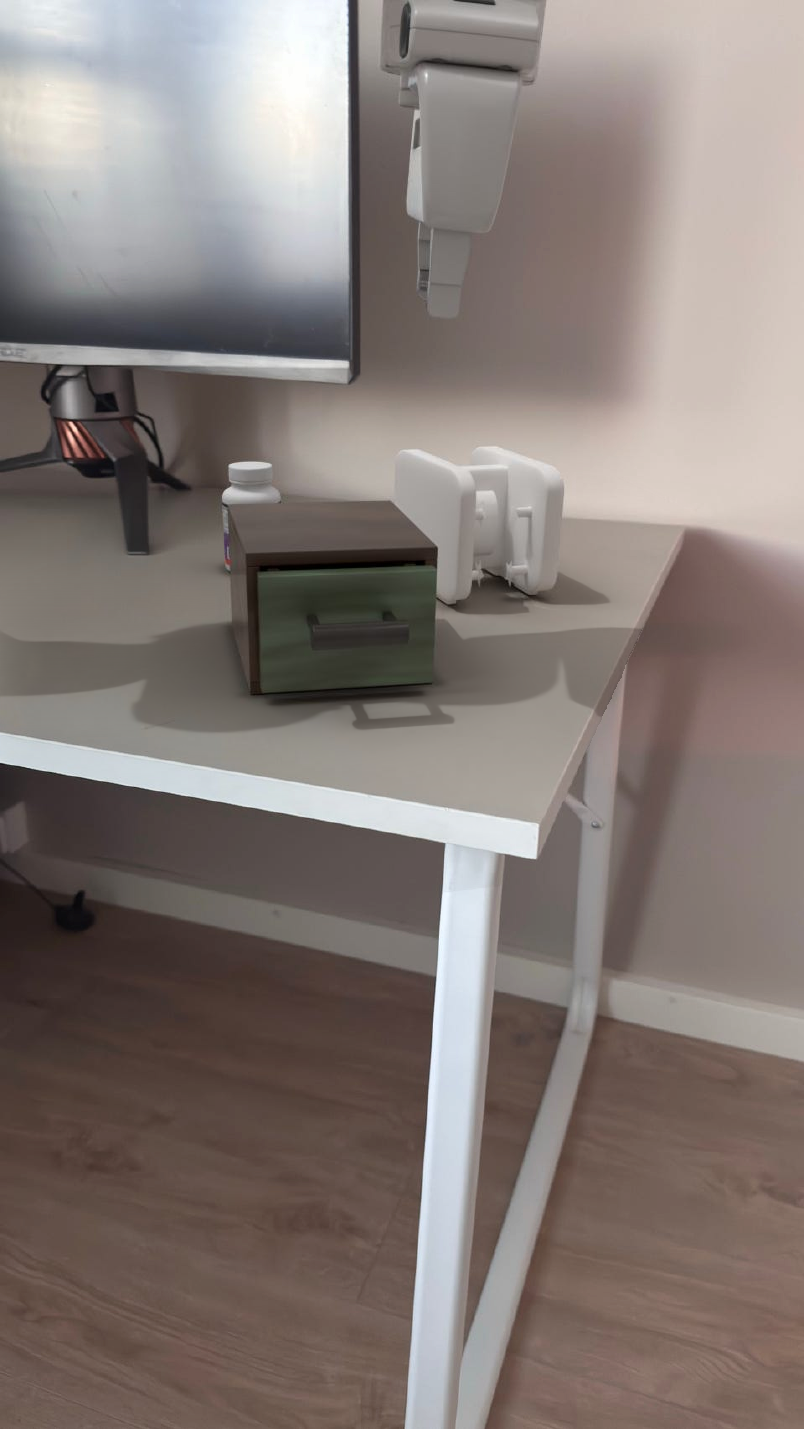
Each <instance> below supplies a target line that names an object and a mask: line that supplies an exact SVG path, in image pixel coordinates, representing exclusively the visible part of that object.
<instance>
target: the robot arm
mask: <svg viewBox="0 0 804 1429" xmlns="http://www.w3.org/2000/svg"><path fill="white" fill-rule="evenodd" d="M546 7H547V0H382V9H381V10H382V11H381V26H380V27H381V28H380V38H379V39H380V41H379V55H378V68H379V70H381V71H383V72H384V73H385V72H386V73H388V74H390V75H396V76H400V79H399V90H400V91H399V92H398V105H399V107H401V108H404V109H409V110H413V111H414V113H413V122H412V131H411V132H412V133H411V144H410V154H409V165H408V177H407V188H406V189H407V190H406V213H407V216H408V217H409V218H412V219H413V220H414V221H416V222H418V229H417V230H418V231H417V279H416V292H415V293H416V296H417V297H418V298H419V300H421V301H423V302H426V303H425V304H426V305H425V308H426V311H427V313H428V315H429V316H430V317H431V318H434V319H445V320H454V319H455V318H457V317H458V316H459V313H460V306H461V298H462V297H461V296H462V290H463V285H464V281H465V276H466V272H467V267H468V264H469V259H470V256H471V247H472V239H473V238H472V237H473V233H480V234H485V233H488V232H489V231H491V229H492V227H493V225H494V222H495V220H496V216H497V213H498V210H499V206H500V204H501V203H500V202H501V199H502V194H503V191H504V190H503V189H504V184H505V180H506V175H507V169H508V165H509V160H510V155H511V149H512V144H513V139H514V133H515V128H516V123H517V118H518V113H519V108H520V100H521V92H522V87H530V86H533V85H535V84H536V83H537V81H538V73H539V66H540V65H539V64H540V58H541V57H540V55H541V48H542V38H543V32H544V23H545V16H546Z"/></svg>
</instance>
